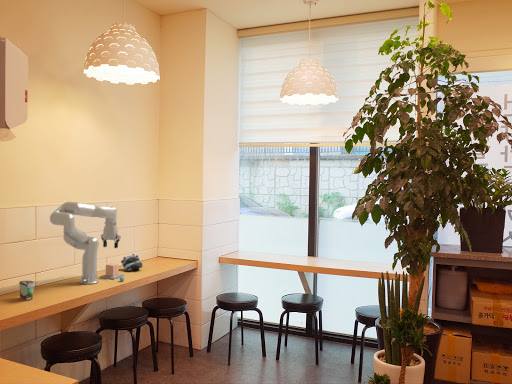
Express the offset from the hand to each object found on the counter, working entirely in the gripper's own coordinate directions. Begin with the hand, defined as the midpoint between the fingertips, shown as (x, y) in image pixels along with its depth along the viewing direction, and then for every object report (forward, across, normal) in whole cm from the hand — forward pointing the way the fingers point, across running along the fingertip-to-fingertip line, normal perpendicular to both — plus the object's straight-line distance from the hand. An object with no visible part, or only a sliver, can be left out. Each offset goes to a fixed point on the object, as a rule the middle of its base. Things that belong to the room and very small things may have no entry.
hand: (110, 247), depth 341 cm
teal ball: (+22, +16, -8) cm, 28 cm away
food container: (+22, -6, -69) cm, 72 cm away
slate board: (+22, +2, 0) cm, 22 cm away
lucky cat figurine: (+22, 0, +25) cm, 33 cm away
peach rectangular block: (+20, +2, 0) cm, 20 cm away
